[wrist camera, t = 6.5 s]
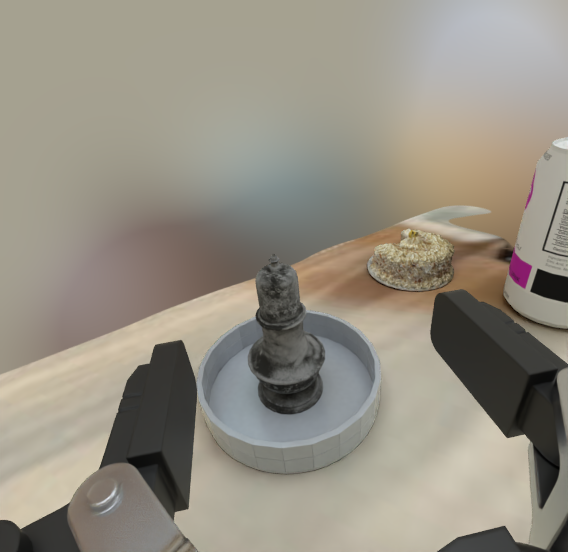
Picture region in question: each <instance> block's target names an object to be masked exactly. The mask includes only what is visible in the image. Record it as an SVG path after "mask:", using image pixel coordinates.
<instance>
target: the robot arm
mask: <svg viewBox="0 0 568 552" xmlns="http://www.w3.org/2000/svg"><path fill="white" fill-rule="evenodd" d="M430 334H431V340H432V343H433V346H434V348H435V349H436V351H437V352H438V353H439V355H440V356H441V357H442V358H443V360H444V361H445V362H446V363H447V364H448V366H449V367H450V368H451V369H452V371H453V372H454V373H455V374H456V376H457V377H458V378H459V379H460V381H461V382H462V383H463V384H464V385H465V387H466V388H467V389H468V390H469V392H470V393H471V394H472V395H473V397H474V398H475V399H476V400H477V402H478V403H479V404H480V405H481V406H482V408H483V409H484V410H485V411H486V413H487V414H488V415H489V416H490V418H491V419H492V420H493V421H494V423H495V424H496V425H497V426H498V427H499V429H500V430H501V431H502V432H503V434H504V435H505V436H506V437H507V438H510V437H515V436H519V435H524V434H525V435H526V436H527V438H528V439H529V440H530V443H529V446H528V459H529V474H530V489H531V504H532V525H531V531H530V536H529V544H524V543H519V542H515V541H514V539H513V538H512V536H511V534H510V533H509V531H508V530H507V528H506V527H505V526H502V527H498V528H494V529H490V530H486V531H482V532H478V533H474V534H470V535H466V536H462V537H458V538H456V539H455V540H453V541H452V542H450V543H449V544H448V545H446V546H445V547H443V548H442V549H440V550H439V551H437V552H568V364H567V363H566V362H565V361H563V360H562V359H561V358H560V357H558V356H557V355H556V354H555V353H553V352H552V351H551V350H550V349H548V348H547V347H546V346H545V345H543V344H542V343H541V342H540V341H538V340H537V339H536V338H535V337H533V336H532V335H531V334H530V333H529V332H525V329H524V328H522V327H521V326H520V325H519V324H517V323H514V320H512V319H511V318H510V317H509V316H507V315H506V314H505V313H504V312H502V311H501V310H500V309H497V308H495V307H493V306H491V305H489V304H487V303H484V302H479V301H478V300H477V299H475V298H474V297H473V296H472V295H471V294H469V293H468V292H467V291H466V290H463V289H460V290H455V291H449V292H444V293H439V294H437V296H436V298H435V302H434V309H433V317H432V324H431V332H430ZM122 397H123V399H121V402H120V405H119V408H118V411H119V412H118V413H117V415H116V418H115V421H114V424H113V427H112V431H111V434H110V437H109V440H108V443H107V446H106V450H105V453H104V456H103V459H102V462H101V465H100V468H99V470H98V471H96V472H95V473H93V474H92V475H91V476H89V477H88V478H87V479H86V480H85V481H84V482H83V483H82V484H81V486H80V487H79V488H78V489H77V491H76V492H75V494H74V496H73V498H72V500H71V502H70V503H68V504H67V505H65V506H64V507H62V508H60V509H58V510H56V511H55V512H53V513H51V514H49V515H47V516H45V517H43V518H41V519H39V520H37V521H35V522H33V523H31V524H30V525H28V526H26V527H24V528H22V529H20V528H19V527H18V526H17V525H16V524H15V523H13V522H11V521H8V520H0V552H198V551H197V549H196V548H195V547H194V545H193V544H192V543H191V542H190V540H189V539H188V538H185V536H184V535H183V534H182V533H181V531H180V530H179V528H178V527H177V525H176V524H175V523H174V514H175V512H177V511H181V510H186V509H188V508H189V495H190V482H191V469H192V455H193V442H194V429H195V416H196V403H197V387H196V381H195V376H194V373H193V370H192V367H191V364H190V361H189V358H188V355H187V352H186V349H185V346H184V343H183V342H182V340H179V341H173V342H168V343H163V344H157V345H155V347H154V349H153V353H152V357H151V361H150V364H145V365H140V366H138V367H137V369H136V370H135V371H134V373H133V374H132V375H131V376H130V378H129V379H128V380H127V383H126V386H125V389H124V393H123V396H122Z"/></svg>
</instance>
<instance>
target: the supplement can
mask: <svg viewBox="0 0 568 552" xmlns="http://www.w3.org/2000/svg"><path fill="white" fill-rule="evenodd" d="M503 295H504V297H505V298H506V300H507V301H508V303H509V304H510V305H511V306H512V307H513V309H514V310H516V311H517V312H518V313H520V314H521V315H522V316H524V317H526V318H528V319H531V320H533V321H535V322H537V323H540V324H544V325H548V326H551V327H556V328H565V329H568V137H566V138H562V139H557V140H555V141H553V142H552V145H551V147H550V148H549V149H548V150H547V151H546V152H545V153H544V155H543V156H542V157H541V158H540V159H539V160H538V162H537V166H536V170H535V174H534V177H533V181H532V185H531V188H530V192H529V196H528V199H527V203H526V207H525V211H524V214H523V218H522V222H521V225H520V229H519V233H518V237H517V241H516V244H515V248H514V252H513V255H512V259H511V263H510V267H509V270H508V274H507V278H506V282H505V285H504V293H503Z"/></svg>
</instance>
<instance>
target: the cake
mask: <svg viewBox="0 0 568 552" xmlns="http://www.w3.org/2000/svg"><path fill="white" fill-rule="evenodd" d="M453 248H454V246H453V244H452V245H451V244H450V242H448V241H447V240H443V238H442V237H441V235H440V236H439V235H436V236H435V234H434V233H427V232H422V231H419V230H410V229H407V230H404V231H403V232H401V242H400V243H399V244H397V245H396V244H394V243H393V244H391V243H390V244H387V243H386V244H384V245H378V246H376V247H375V250H374V255H372V257H371V258H370V260H369V261H368V264H367V266H368V270H369V273H370V274H371V276H373V277H374V278H375V279H376V280H377V281H379V282H381V283H382V284H385V285H387V286H388V287H393V288H395V289H401V290H408V291H409V290H410V291H424V290H425V291H426V290H427V291H428V290H432V289H437V288H439V287H443V285H446V284H447V283H448V282H449V281H451V279H452V278H453V274H454V269H453V268H452V265H451V262H452V261H451V260H452V256H453V254H454V251H455V250H453Z"/></svg>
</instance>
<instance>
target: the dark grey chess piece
mask: <svg viewBox="0 0 568 552" xmlns="http://www.w3.org/2000/svg"><path fill="white" fill-rule="evenodd" d="M278 261H279V258H278V257H277V256H276V255H275V254H272V256H271V257H270V259H269V262H271V264H269V265H267V266H265V267H264V268H262V269H261V270H260V271H259V272H258V274H257V276H256V288H257V294H258V300H259V306H260V308H259V309H258V310H257V312H256V321H257V322H258V324H259V325H260V326H262V331H263V336H262V337H261V338H260V339H258V340H257V341H256V342H255V343H254V344H253V346H252V347H251V349H250V351H249V354H248V366H249V368H250V370H251V372H252V373H253V374H254V375H255V376H256V377H257V379H258V380H259V384H258V396H259V398H260V400H261V402H262V403H263V404H264V405H265V407H266V408H268V409H270V410H271V411H273V412H276V413H280V414H290V415H291V414H297V413H301V412H303V411H306V410H308V409H310V408H311V407H312V406H314V405H315V404H316V403H317V401H318V400H319V399H320V397H321V395H322V392H323V381H322V378H321V376H320V374H319V371H320V369H321V367H322V365H323V363H324V360H325V349H324V346H323V344H322V342H321V341H320V340H319V339H318V338H317V337H316V336H314V335H313V334H311V333H309V332H306V331H304V328H303V320H304V318H305V317H306V308H305V306H304V305H303V304H302V303H301V302H300V296H299V285H298V277H297V274H296V271H295V270H294V269H293V268H292V267H291V266H289V265H287V264H284V263H278Z"/></svg>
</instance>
